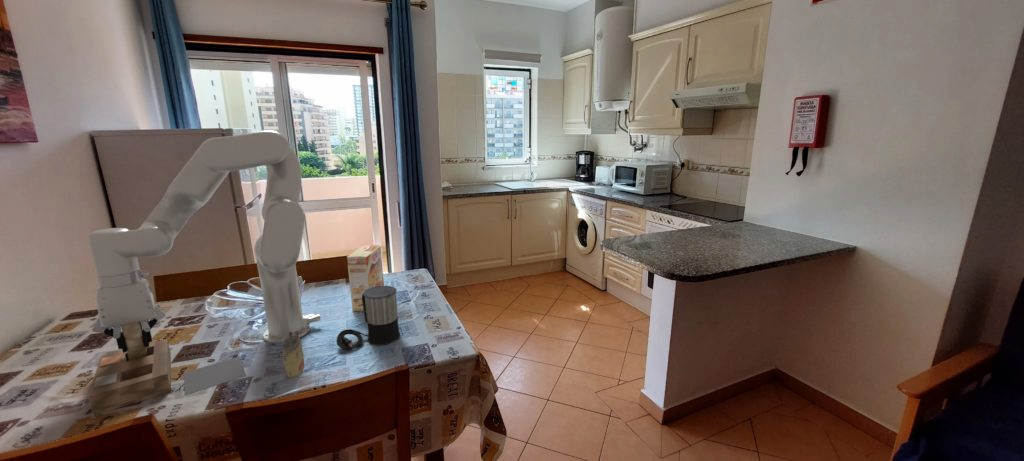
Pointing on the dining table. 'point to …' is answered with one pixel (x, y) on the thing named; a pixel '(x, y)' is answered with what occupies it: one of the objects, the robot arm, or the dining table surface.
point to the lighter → (293, 355)
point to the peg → (134, 340)
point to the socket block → (130, 378)
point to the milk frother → (376, 318)
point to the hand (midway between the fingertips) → (136, 347)
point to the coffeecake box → (364, 272)
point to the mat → (213, 375)
